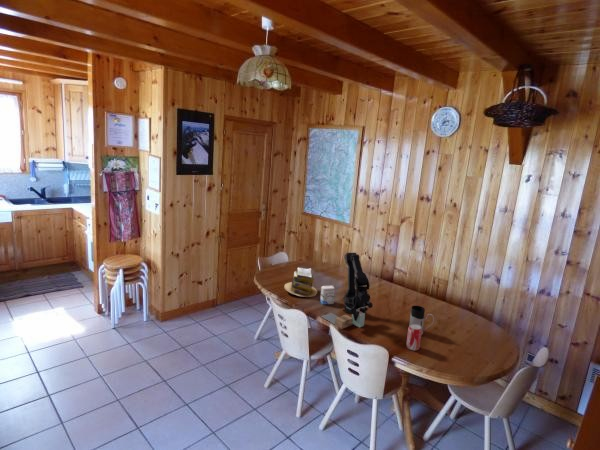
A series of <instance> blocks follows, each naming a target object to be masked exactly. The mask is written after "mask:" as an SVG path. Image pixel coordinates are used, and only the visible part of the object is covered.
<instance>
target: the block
mask: <svg viewBox="0 0 600 450" xmlns="http://www.w3.org/2000/svg"><path fill="white" fill-rule="evenodd" d="M358 312H359V315H358V318H357V320H356V321H355V320H354V316H353V314H351V318H353V324H352V325H354V326H356V327H357V328H362V327H364V326H365V320H366V319H365V318H366V313H363V312H361V311H360V309H358Z"/></svg>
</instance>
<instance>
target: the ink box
mask: <svg viewBox="0 0 600 450" xmlns="http://www.w3.org/2000/svg"><path fill="white" fill-rule="evenodd" d="M335 289H336V287H334V285H322V286H321V287H320V298H319V299H320V303H321V304H322V305H323V304H324V305H333V304H335V291H336V290H335Z"/></svg>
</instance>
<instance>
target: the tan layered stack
mask: <svg viewBox="0 0 600 450" xmlns="http://www.w3.org/2000/svg"><path fill="white" fill-rule="evenodd" d="M314 281H315V278H314V273H313V270H312V268H311V267H310V268H305V267H304V268H303V267H297V269H296V270H295V271H293V278H292V281H291V282H287V283H285V284H284V287H283V288H284V290H285V291H287V292H288V293H290V294H291V295H295V296H298V297H303V298H304V297H305V298H310V297H311V298H312V297H316V296H317V295H316V294H318V290H317V289H316V288H315V287H314V286H313V283H314Z"/></svg>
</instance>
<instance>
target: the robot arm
mask: <svg viewBox="0 0 600 450" xmlns="http://www.w3.org/2000/svg"><path fill="white" fill-rule="evenodd" d="M344 261H345V264H346V265H347V289H346V291H345V295H344V296H343V297H342V299H343V300H342V302H343V303H344V308H343V309H342V311H344V312H345V313H347V314H349V315H352V314H353V316H354V320H355V321H356V320H357V318H358V315H359V312H358V310H359V311H361V312H363V313H365V314H367V311H368V310H369V309H372V308H373V306H374V304H373V303H372V302H371V301H370V300H371V296H370V294H369V293H368V292H369V291H367V290H370V287H371V286H370V281H369V278H368V276H367V274H366V273H365V272H364V271H363V268H362V267H363V266H362V264H361V263H362V262H361V260H360V254H357V252H346V253H345V254H344Z"/></svg>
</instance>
